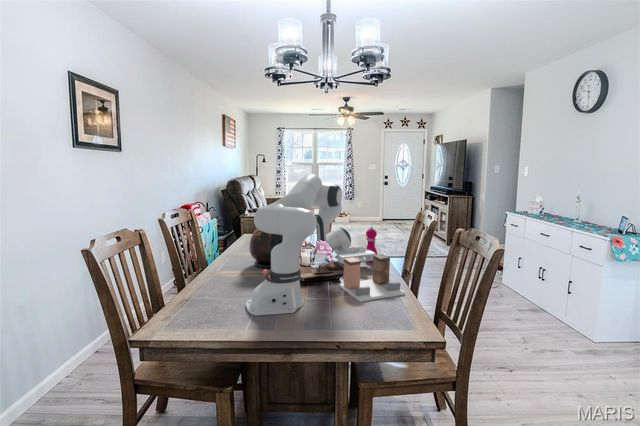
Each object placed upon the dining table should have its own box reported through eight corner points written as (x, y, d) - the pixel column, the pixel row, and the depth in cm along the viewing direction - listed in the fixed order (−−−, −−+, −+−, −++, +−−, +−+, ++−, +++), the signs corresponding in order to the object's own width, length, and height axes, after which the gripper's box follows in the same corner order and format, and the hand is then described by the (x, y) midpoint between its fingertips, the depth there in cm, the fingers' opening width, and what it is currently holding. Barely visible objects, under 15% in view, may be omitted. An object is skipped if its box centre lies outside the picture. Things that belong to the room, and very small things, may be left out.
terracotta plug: (349, 288, 154) (350, 262, 152) (343, 284, 160) (343, 258, 158) (360, 287, 156) (360, 260, 154) (353, 282, 162) (354, 257, 160)
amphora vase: (297, 266, 190) (296, 215, 186) (259, 274, 178) (258, 218, 174) (278, 257, 208) (277, 210, 203) (243, 263, 196) (241, 213, 191)
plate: (359, 301, 144) (359, 291, 143) (339, 286, 161) (339, 277, 161) (405, 294, 152) (405, 285, 152) (381, 280, 170) (381, 271, 169)
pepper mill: (376, 263, 197) (377, 228, 194) (363, 262, 199) (364, 227, 196) (377, 259, 204) (378, 225, 201) (364, 259, 206) (365, 225, 203)
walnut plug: (379, 284, 160) (380, 258, 158) (372, 280, 165) (373, 255, 164) (389, 283, 162) (390, 257, 160) (381, 278, 167) (382, 254, 166)
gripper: (333, 250, 186) (345, 257, 173) (367, 246, 193) (381, 253, 181) (333, 262, 187) (345, 269, 174) (367, 258, 194) (381, 265, 182)
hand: (363, 261), depth 178 cm, fingers closed
